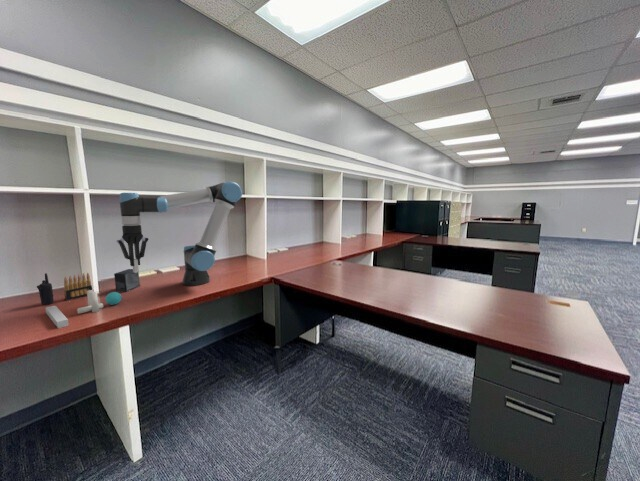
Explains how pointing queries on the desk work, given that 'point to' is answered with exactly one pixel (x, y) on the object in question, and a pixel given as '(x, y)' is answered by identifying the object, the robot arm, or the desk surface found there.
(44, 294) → the two-way radio
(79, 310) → the front pin
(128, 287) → the small box
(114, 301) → the ball
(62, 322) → the white rectangular eraser
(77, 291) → the ammunition clip
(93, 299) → the back left pin
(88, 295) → the back right pin
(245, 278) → the desk surface
